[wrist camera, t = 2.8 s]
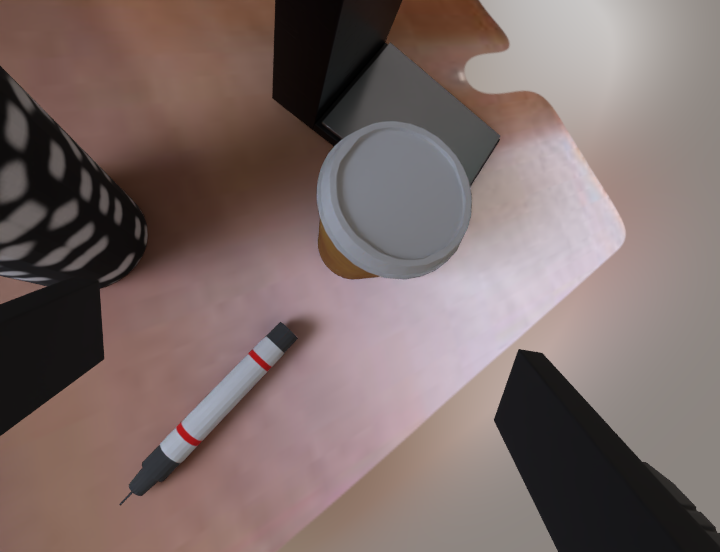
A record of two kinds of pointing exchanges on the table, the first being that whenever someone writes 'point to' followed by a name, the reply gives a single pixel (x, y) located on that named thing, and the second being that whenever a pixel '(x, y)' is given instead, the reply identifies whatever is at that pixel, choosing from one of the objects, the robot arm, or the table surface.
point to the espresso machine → (408, 109)
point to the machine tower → (324, 49)
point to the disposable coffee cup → (391, 203)
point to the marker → (211, 410)
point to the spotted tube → (59, 202)
